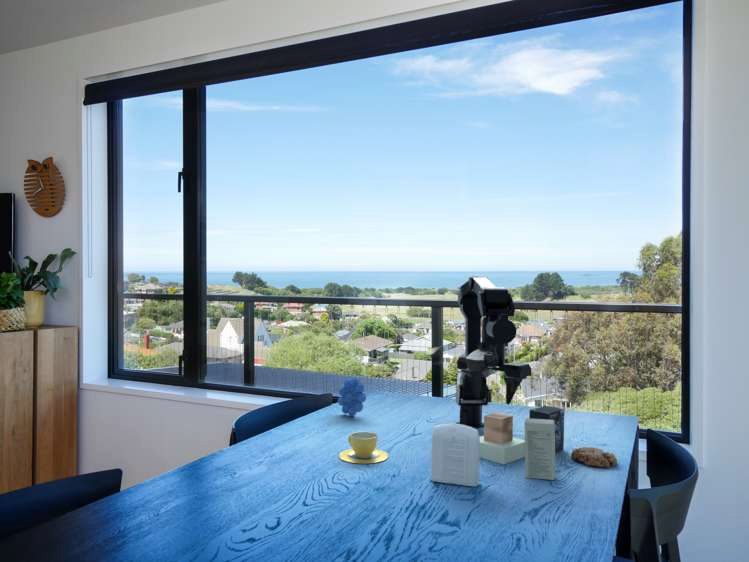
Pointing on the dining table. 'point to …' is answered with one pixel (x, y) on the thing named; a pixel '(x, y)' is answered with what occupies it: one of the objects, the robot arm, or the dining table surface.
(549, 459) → the skincare box
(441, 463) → the white gravestone
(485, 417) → the terracotta block
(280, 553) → the dining table surface
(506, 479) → the dining table surface
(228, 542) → the dining table surface
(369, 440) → the cup
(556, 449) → the box
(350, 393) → the grapes
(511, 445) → the sage base block
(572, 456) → the cookie
